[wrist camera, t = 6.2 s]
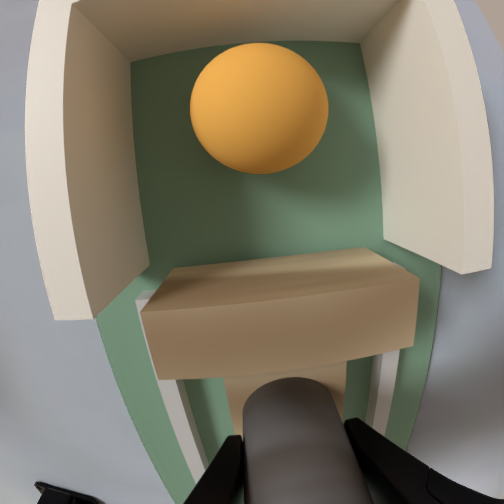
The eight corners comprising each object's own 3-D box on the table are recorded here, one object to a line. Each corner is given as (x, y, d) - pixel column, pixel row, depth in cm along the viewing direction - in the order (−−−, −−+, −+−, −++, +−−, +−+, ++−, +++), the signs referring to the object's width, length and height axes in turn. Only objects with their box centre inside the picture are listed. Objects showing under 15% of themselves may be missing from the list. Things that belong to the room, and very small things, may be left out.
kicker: (356, 411, 13) (421, 554, 4) (210, 430, 13) (195, 590, 4) (364, 246, 11) (543, 358, 3) (173, 268, 11) (51, 439, 3)
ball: (303, 76, 10) (320, 177, 11) (196, 85, 10) (205, 188, 10) (328, 16, 6) (359, 153, 7) (175, 26, 6) (181, 169, 6)
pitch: (387, 490, 16) (409, 542, 11) (186, 516, 16) (179, 572, 11) (407, 24, 10) (472, -28, 4) (72, 52, 10) (1, 5, 4)
